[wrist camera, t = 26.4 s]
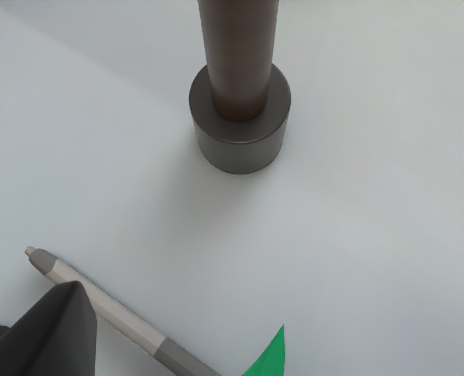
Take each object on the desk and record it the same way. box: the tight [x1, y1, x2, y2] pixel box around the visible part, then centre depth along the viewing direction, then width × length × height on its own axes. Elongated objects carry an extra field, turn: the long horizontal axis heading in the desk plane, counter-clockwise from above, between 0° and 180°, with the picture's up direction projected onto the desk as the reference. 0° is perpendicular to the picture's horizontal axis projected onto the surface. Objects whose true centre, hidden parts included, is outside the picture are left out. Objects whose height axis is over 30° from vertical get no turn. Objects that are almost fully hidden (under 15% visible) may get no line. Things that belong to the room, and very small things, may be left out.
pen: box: [25, 247, 221, 376], centre depth 19 cm, size 1×14×1 cm, turn 57°
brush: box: [189, 0, 291, 174], centre depth 17 cm, size 4×4×12 cm
